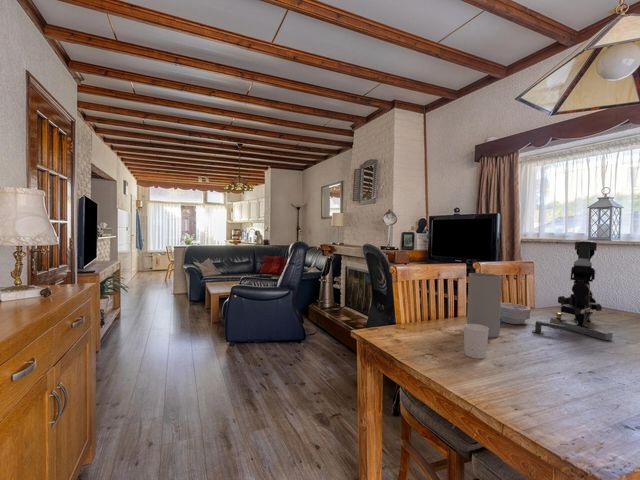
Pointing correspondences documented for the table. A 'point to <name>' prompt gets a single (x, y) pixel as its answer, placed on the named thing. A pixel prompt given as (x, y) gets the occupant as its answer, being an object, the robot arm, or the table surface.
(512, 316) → the paper bowls
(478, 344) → the white cup
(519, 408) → the table surface
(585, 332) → the link
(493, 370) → the table surface
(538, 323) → the keeper
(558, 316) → the pintle
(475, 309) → the tall grey block
